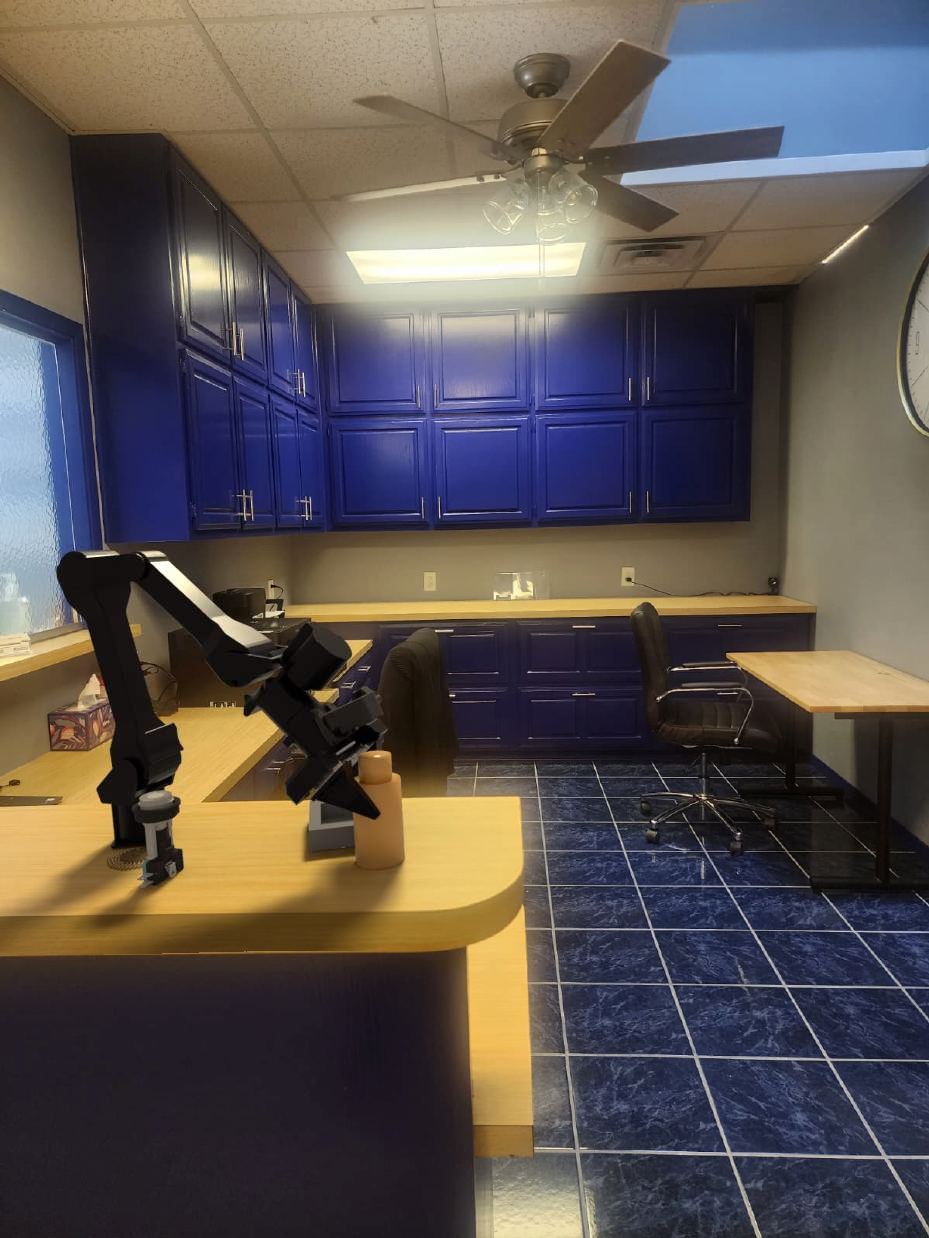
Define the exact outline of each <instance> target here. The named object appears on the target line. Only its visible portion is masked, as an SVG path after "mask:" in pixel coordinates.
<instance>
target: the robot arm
mask: <svg viewBox="0 0 929 1238" xmlns="http://www.w3.org/2000/svg"><path fill="white" fill-rule="evenodd" d="M55 575H56V579H57V580H56V581H57V582H58V584H59V587H60V588H61V591H62V594H63V596H64V598H65V600H66V602H67V604H68V605H70V607H71V608H72V609H73V610H74V611H75V612H76V613H77V614H78V615H79V616H80V617H81V618H82V619H83V620H84V621H85V624H86V626H87V630H88V633H89V638H90V640H91V643H92V647H93V650H94V654H95V658H96V662H97V666H98V669H99V672H100V676H101V679H102V682H103V683H102V684H103V686H104V687H103V688H104V690H105V693H106V696H107V700H108V704H109V707H110V711H111V714H112V717H113V720H114V731H113V735H112V739H111V743H110V747H109V756H110V761H111V770H110V771H109V772H108V773H107V774H106V775H105V777H104V778H103V779H102V781H101V782H100V783H99V784H98V785H97V786H96V793H97V796H98V798H99V800H100V803H101V804H103V805H104V804H105V805H110V807H111V817H112V826H113V836H114V840H113V841H112V842H111V844H110V848H111V849H121V848H123V849H124V848H132V847H138V846H139V847H140V846H147V844H146V833H145V826H144V825H143V823H140V822H136V820H135V814H134V813H133V812H132V806H133V805H134V804H136V803H138V802H140V797H141V796H142V795H144V794H146V793H149V792H154V791H162V790H166V788H167V787H168V786H172V785H173V784H174V779H175V776H176V772H177V771H178V769H179V767H180V765H181V764H182V760H183V759H182V753H181V752H182V751H184V750H185V748H184V746H183V744H182V743H181V741H180V739H179V735H178V733H179V732H178V727H177V725H176V724H175V723H174V722H169V723H167V724H165V722H163V720H161V718H159V716H158V715H156V713H155V710H154V706H153V702H152V700H151V696H150V693H149V689H148V685H147V681H146V679H145V674H144V672H143V668H142V664H141V661H140V656H139V653H138V650H137V646H136V644H135V643H136V642H135V640H134V636H133V633H132V629H131V625H130V622H129V619H128V618H129V617H128V614H127V608H128V606H129V605H128V604H129V601H130V597H131V593H132V584H131V583H132V582H133V583H136V584H137V586H139V587H140V588H141V589H142V590H143V591H144V592H145V593H146V594H147V595H148V596H149V597H150V598H151V599H153V601H155V603H157V604H158V605H159V606H160V607H161V608H162V609H163V610H164V611H165V612H166V613H167V614H168V615H169V616H170V617H171V618H173V619H174V620H175V621H176V622H177V623H178V624H179V625H180V626H181V627H182V628H183V629H184V630H185V631H186V632H187V633H188V634H190V636H192V637H193V638H194V639H195V640H196V642H197V643H198V644H199V646H200V647H201V649H202V652H203V656H204V660H205V662H206V664H207V665H208V666H209V668H210V669H211V670H212V672H213V673H214V674H215V675H216V676H217V678H218V679H219V681H221V683H223V685H226V686H227V687H229V688H232V689H233V688H235V689H236V688H244V687H246V686H249V685H252V684H255V683H257V682H260V681H263V680H264V681H263V682H262V683H261V684H260V686H259V687H258V689H257V690H253V691H250V692H248V693H245V694H244V695H243V700H244V704H243V713H242V714H243V716H244V717H246V718H247V717H250V716H252V715H254V714H257V713H258V712H259V713H260V712H263V714H265V716H266V717H267V718H268V719H269V720H270V721H271V722H272V723H273V724H274V725H275V726H276V727H277V728H278V730H280V731H281V732H282V733H283V734H284V735H285V738H284V740H283V741H282V743H283V745H284V746H285V747H286V748H287V749H290V748H291V747H293V746H295V747H296V748H297V749H298V750H299V751H300V752H301V753H302V755H304V756H305V760H303V762H302V763H300V765H299V766H298V767H297V768H296V769H295V770H294V771H293V772H292V774H291V775H290V776H289V777H288V779H287V780H285V782H284V793H285V795H286V797H287V798H288V799H289V800H290V801H291V802H292V803H293V804H294V805H295V806H298V805H299V804H301V803H302V802H303V801H305V800H306V799H307V798H308V797H309V796H310V795H311V793H310V792H311V791H312V790H313V789H314V790H315V791H316V792H315V793H314V794H313V795H312V796H311V797H310V798H309V801H313V802H314V801H320V802H324V803H327V804H330V805H334V806H337V807H340V808H343V809H346V810H349V811H351V812H354V813H357V814H359V815H362V816H365V817H367V818H370V819H373V820H376V819H377V818H378V817H379V816H380V814H381V812H380V811H379V809H378V808H377V807H376V805H375V804H374V802H373V801H372V800H371V799H370V797H369V796H368V795H367V794H366V792H365V791H364V790H363V789H362V787H361V786H360V785H359V784H358V782H357V781H356V780H355V779H354V777H356V776H359V768H358V755H360V754H362V753H365V752H369V751H383V747H382V746H383V743H384V741H385V740H384V735H385V734H386V733H387V731H388V730H389V727H388V726H387V725H385V723H384V722H383V721H382V720H381V719H380V718H378V717H381V716H383V715H384V711H383V710H382V707H381V702H382V699H383V697H382V696H381V695H379V694H377V692H376V690H372V689H371V688H369V687H368V686H367V685H365V686H362V687H361V688H359V689H357V690H355V691H353V692H351V701H349V702H347V703H346V704H343V705H341V706H340V707H337V706H336V705H335V704H334V703H333V702H330V701H326V702H324V703H323V704H322V703H321V702H320V701H319V699H317V697H315V696H314V695H313V694H312V693H311V691H316V692H319V691H323V690H324V689H326V687H327V686H328V685H329V684H330V682H331V681H332V680H333V679H334V678H335V677H336V675H338V673H339V672H340V671H341V670H342V669H343V667H345V665H346V664H347V663H348V661H350V660H351V658H352V657H353V652H352V650H353V649H351V647H350V645H349V643H348V642H347V641H346V640H345V638H343V637H342V636H341V635H339V634H338V635H337V634H336V633H335V632H333V631H332V630H329V629H327V628H326V627H323V626H320V625H319V623H317V622H316V621H314V620H312V621H308V622H305V623H304V624H303V625H302V626H301V627H300V629H299V631H298V633H297V635H296V636H295V637H294V639H293V640H292V641H290V643H289V644H288V646H286V645H279V644H275V643H274V642H273V641H272V639H270V638H268V636H266V635H264V634H263V633H261V632H260V631H258V630H256V629H255V628H254V627H252V626H249V625H247V624H244V623H242V622H240V621H237V620H234V619H233V618H231V617H230V616H228V615H227V614H226V613H225V612H224V611H223V610H222V609H221V608H220V607H218V606H217V605H216V604H215V603H214V602H213V601H212V600H210V598H209V597H208V596H206V594H205V593H203V592H202V591H201V589H199V588H198V587H197V586H196V585H195V584H194V583H193V582H192V581H191V580H189V578H187V576H185V575H184V574H183V573H182V572H181V571H180V570H179V569H178V568H176V566H174V565H173V564H172V563H171V561H170V559H169V557H168V556H167V554H165V553H163V552H162V551H160V550H156V549H155V550H153V549H152V550H135V551H131V552H130V553H121V554H120V553H119V552H117V551H115V550H112V549H95V550H91V549H90V550H89V549H88V550H73V551H69V552H67V553H65V554H64V555H63V556H62V557H61V559H60V561H59V562H58V565H57V566H56V567H55ZM281 668H282V669H281ZM279 669H281V671H280V672H278V674H277V675H276V676H273V674H275V672H276V671H277V670H279ZM272 676H273V677H272ZM171 823H172V824H173V819H172V820H171Z"/></svg>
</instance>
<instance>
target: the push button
mask: <svg viewBox="0 0 929 1238" xmlns="http://www.w3.org/2000/svg"><path fill="white" fill-rule="evenodd" d="M181 803H182V799H181V798H180V797H178V796H175V795H173V793H172V791H170V790H166V789H165V790H162V791H154V792H149V793H146V794H144V795H142V796H141V797H140V802H138V803H136V804H134V805H133V806H132V812H133V813H134V814H135V820H136V822H140V823H143V825H144V826H145V833H146V844H147V845H146V860H144V861H143V862H142V863H141V868H142V875H141V876H140V877H138V878H137V879H136V880H137V881H143V882H142V883H141V884H139V885H138V886H137V888H140V889H145V888H146V887H147V886H148V885H153V886H159V885H160V884H161V883H163V882H164V881H166V880H167V879H169V878H173V877H175V876H176V874H177V872H181V871H183V870H184V867H185V864H184V863H185V862H184V861H185V860H184V853H183V852H184V851H183V848H177V847H176V848H175V842H174V837H173V836H174V835H173V822H172V823H171V820H172V821H173V819H174V818H175V817H176V816H178V815H179V814H180V812H181V811H180V805H182V804H181Z"/></svg>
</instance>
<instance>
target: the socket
mask: <svg viewBox="0 0 929 1238" xmlns="http://www.w3.org/2000/svg"><path fill="white" fill-rule="evenodd" d="M308 810H309V812H308V814H309V815H308V841H309V852H310V853H313V852H321V851H320V850H323V851H329V850H328V849H331V850H338V848H339V849H343V848H342V847H348V848H352V847H351V846H355V840H354V824H353V812H351V811H349V810H346V809H343V808H340V807H337V806H334V805H330V804H327V803H324V802H320V801H314V802H313V801H311V800H309V809H308Z"/></svg>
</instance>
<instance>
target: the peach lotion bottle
mask: <svg viewBox="0 0 929 1238" xmlns="http://www.w3.org/2000/svg"><path fill="white" fill-rule="evenodd" d="M392 765H393V762H392V753H391V752H390V751H385V750H382V751H369V752H365V753H362V754H360V755H358V768H359V776H356V777H354V779H355V780H356V781H357V782H358V784H359V785H360V786H361V787H362V789H363V790H364V791H365V792H366V794H367V795H368V796H369V797H370V799H371V800H372V801H373V802H374V804H375V805H376V807H377V808H378V809H379V811H380V812H381V814H380V816H379V817H378V818H377V819H376V820H373V819H370V818H367V817H365V816H362V815H359V814H357V813H354V812H353V824H354V840H355V847H354V852H355V863H356V865H357V866H358V867H360V868H363V869H364V870H365V869H367V870H375V871H377V870H384V869H385V870H386V869H390V868H394V867H396V866H398V865H400V864H401V863H403V861H404V860H405V858H406V853H405V852H406V850H405V833H404V813H403V797H402V796H403V794H402V779H401V775H399V774H398V773H397V772H396V773H395V772H393V766H392Z"/></svg>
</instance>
